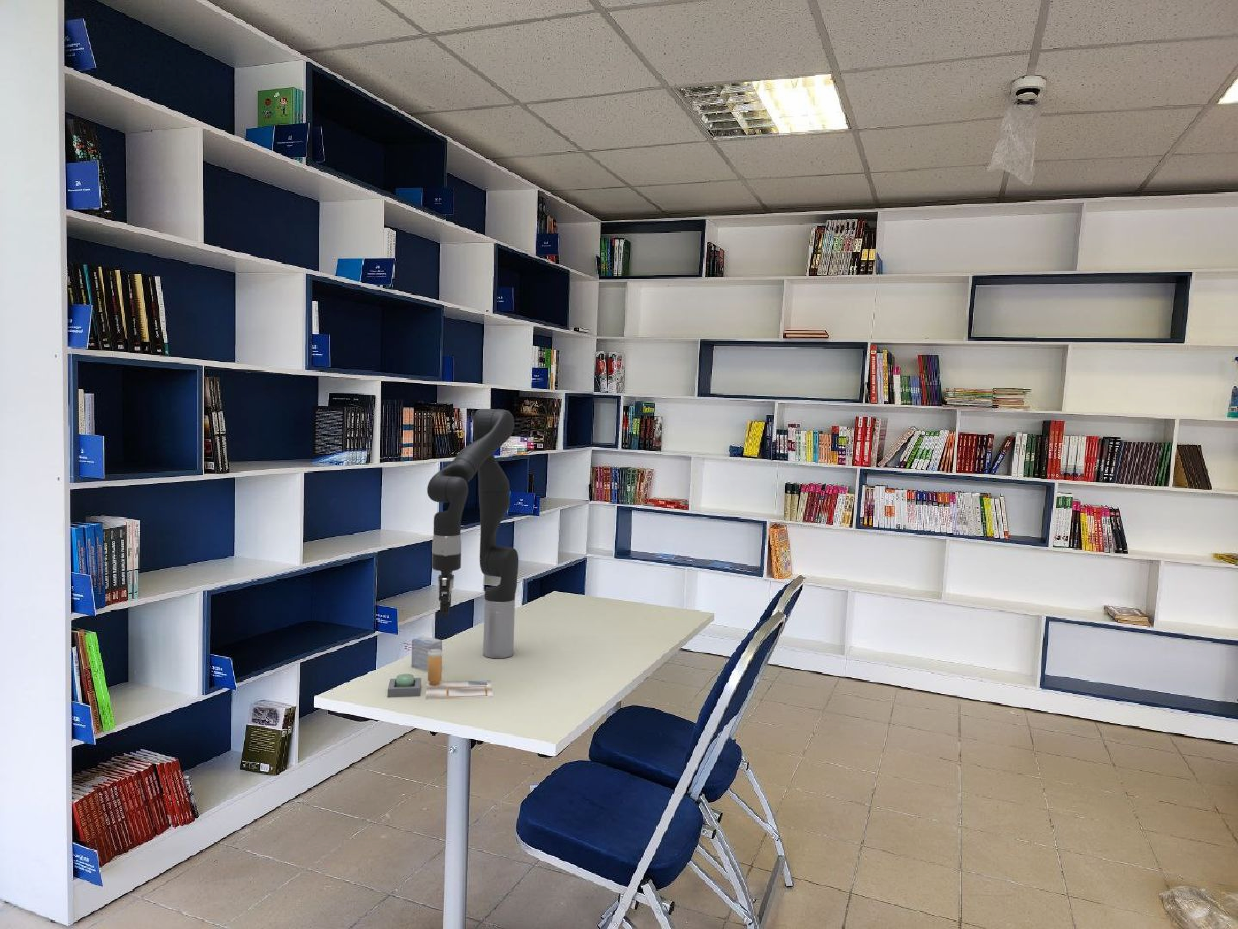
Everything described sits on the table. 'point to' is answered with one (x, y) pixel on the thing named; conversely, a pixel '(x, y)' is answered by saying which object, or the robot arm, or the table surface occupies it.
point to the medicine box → (423, 650)
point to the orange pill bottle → (434, 666)
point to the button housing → (404, 689)
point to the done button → (405, 680)
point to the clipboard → (459, 689)
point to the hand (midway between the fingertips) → (445, 611)
